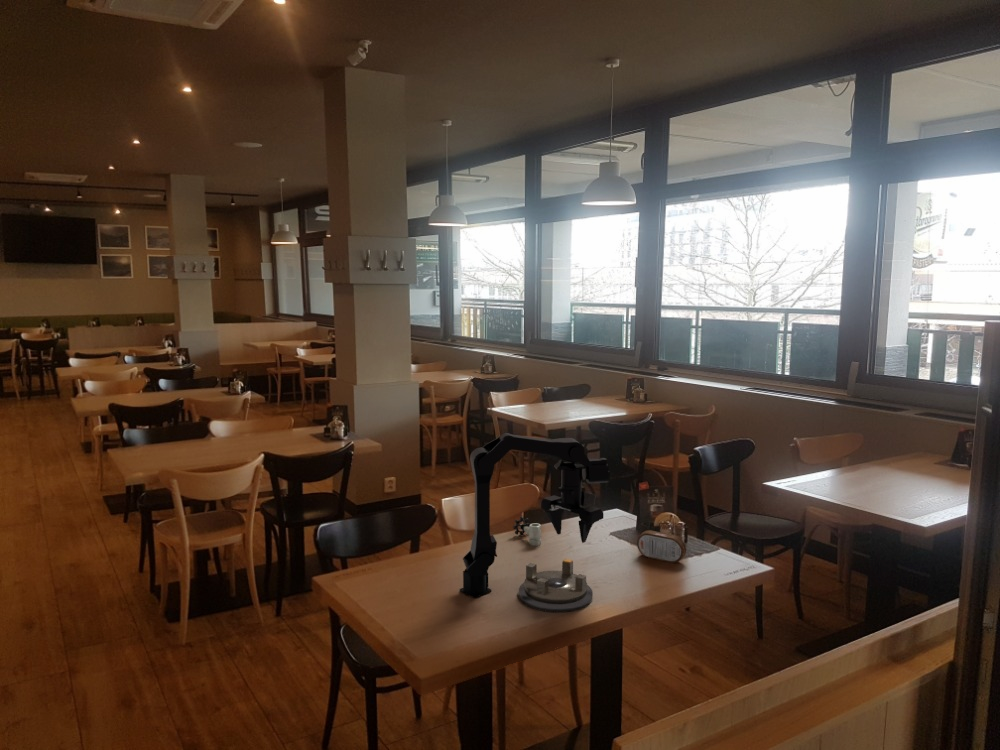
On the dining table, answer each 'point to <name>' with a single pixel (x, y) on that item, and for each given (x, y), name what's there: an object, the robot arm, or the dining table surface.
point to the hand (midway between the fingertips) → (571, 538)
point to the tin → (661, 546)
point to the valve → (529, 531)
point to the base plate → (555, 607)
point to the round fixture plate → (555, 584)
